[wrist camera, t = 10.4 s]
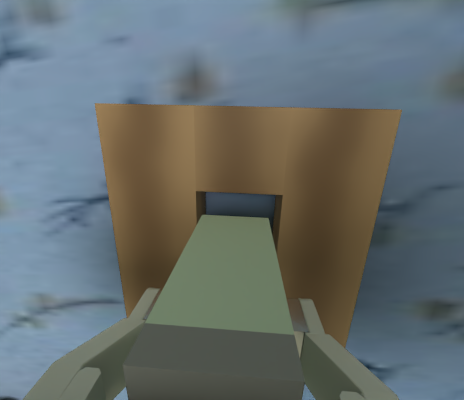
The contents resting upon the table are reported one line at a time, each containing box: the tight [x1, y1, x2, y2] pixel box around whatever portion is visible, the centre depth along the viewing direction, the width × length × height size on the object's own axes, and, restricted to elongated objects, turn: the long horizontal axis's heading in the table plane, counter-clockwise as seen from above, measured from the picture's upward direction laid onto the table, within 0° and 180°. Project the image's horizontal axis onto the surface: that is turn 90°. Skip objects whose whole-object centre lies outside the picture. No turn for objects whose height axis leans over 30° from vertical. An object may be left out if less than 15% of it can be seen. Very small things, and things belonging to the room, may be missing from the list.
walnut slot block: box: [95, 103, 402, 348], centre depth 16 cm, size 16×16×3 cm
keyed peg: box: [123, 215, 305, 400], centre depth 9 cm, size 4×5×8 cm
